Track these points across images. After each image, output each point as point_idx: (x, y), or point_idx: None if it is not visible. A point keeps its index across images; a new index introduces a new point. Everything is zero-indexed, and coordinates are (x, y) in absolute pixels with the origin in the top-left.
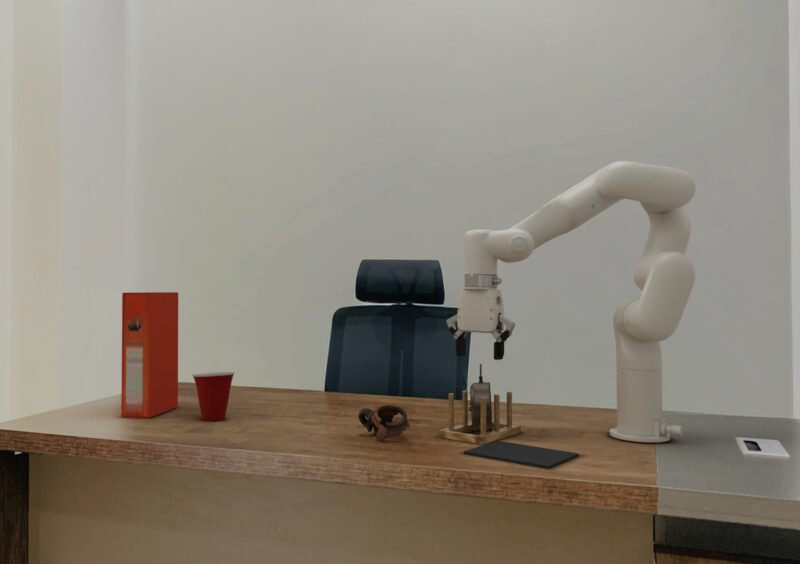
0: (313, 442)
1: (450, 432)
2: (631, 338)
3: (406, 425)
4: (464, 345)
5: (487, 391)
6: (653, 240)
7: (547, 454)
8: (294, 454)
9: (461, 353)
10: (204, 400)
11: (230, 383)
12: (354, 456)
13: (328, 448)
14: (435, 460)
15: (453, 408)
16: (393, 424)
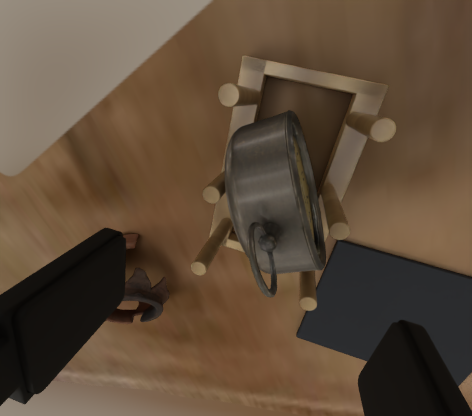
0: None
1: (236, 249)
2: None
3: (165, 293)
4: (72, 296)
5: (311, 269)
6: None
7: (457, 323)
8: (116, 378)
9: (114, 288)
10: None
11: None
12: (172, 374)
13: (124, 348)
14: (269, 373)
15: (218, 248)
16: (154, 318)
